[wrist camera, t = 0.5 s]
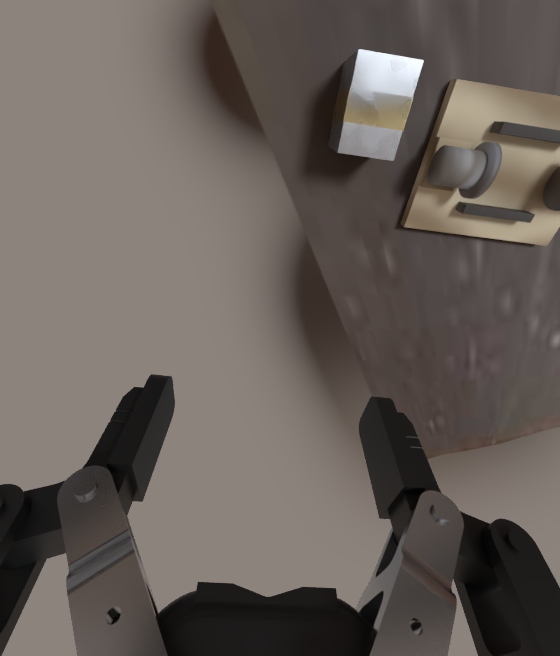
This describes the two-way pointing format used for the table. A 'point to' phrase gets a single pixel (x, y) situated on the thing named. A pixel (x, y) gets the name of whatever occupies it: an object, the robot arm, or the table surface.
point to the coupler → (373, 104)
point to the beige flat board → (491, 166)
